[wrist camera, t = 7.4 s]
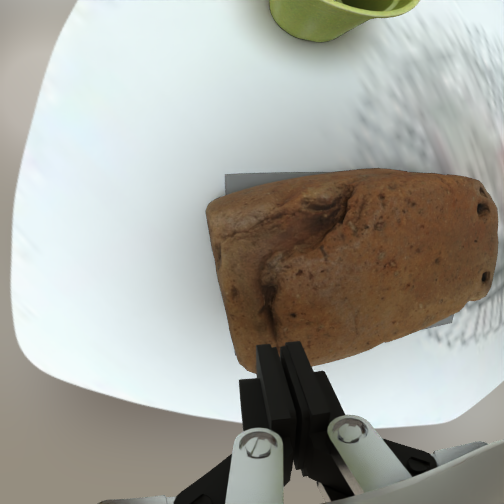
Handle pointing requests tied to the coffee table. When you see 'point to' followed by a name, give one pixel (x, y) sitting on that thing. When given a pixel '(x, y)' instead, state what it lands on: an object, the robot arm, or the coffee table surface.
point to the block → (349, 258)
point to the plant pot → (332, 15)
